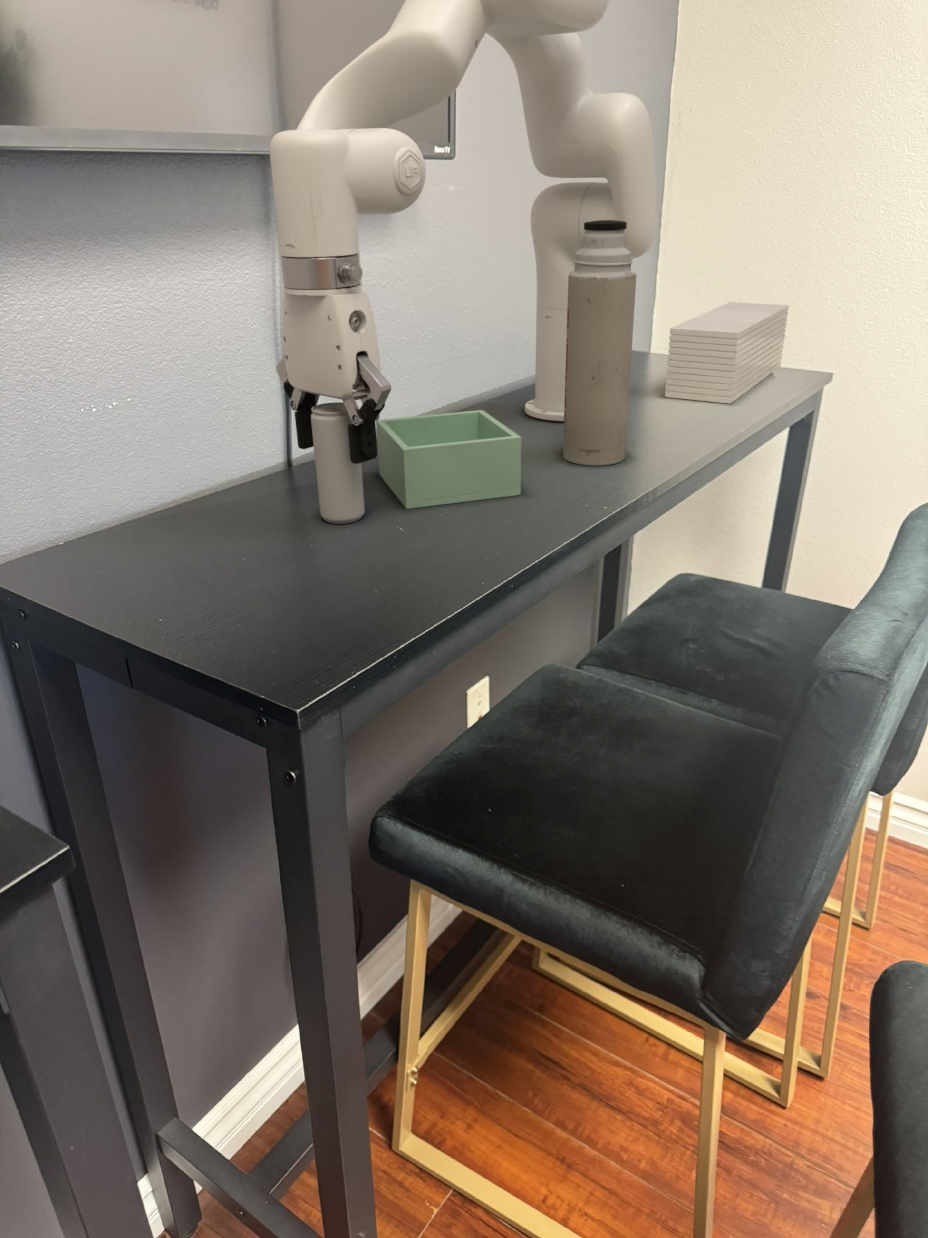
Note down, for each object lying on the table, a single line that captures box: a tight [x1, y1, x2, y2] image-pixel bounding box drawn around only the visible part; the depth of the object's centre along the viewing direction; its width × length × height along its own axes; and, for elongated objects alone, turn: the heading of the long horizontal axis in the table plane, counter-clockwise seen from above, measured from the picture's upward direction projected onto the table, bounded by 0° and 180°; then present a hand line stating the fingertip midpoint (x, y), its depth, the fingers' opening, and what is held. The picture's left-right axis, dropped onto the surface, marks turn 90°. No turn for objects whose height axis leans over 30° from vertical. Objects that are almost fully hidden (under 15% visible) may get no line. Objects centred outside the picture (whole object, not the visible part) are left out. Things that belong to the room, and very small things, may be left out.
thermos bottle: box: [562, 220, 637, 467], centre depth 110 cm, size 8×8×28 cm
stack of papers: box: [664, 301, 790, 404], centre depth 152 cm, size 32×11×11 cm, turn 149°
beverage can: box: [311, 401, 366, 525], centre depth 95 cm, size 5×5×12 cm
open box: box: [375, 409, 522, 510], centre depth 106 cm, size 14×14×7 cm
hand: (337, 452), depth 94 cm, fingers open, 7 cm apart
